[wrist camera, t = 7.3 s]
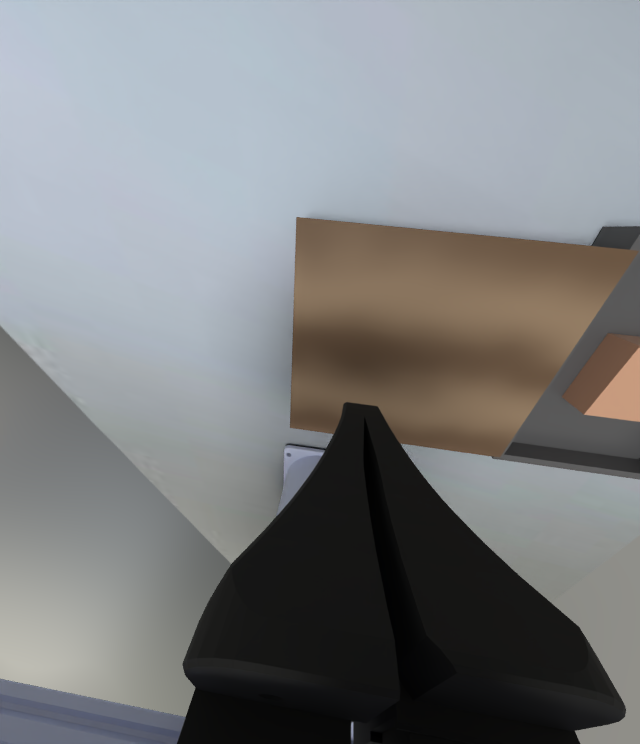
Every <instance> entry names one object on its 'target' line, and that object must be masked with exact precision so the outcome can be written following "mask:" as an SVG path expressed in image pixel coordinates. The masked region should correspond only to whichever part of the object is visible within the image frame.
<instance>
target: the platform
mask: <svg viewBox="0 0 640 744" xmlns="http://www.w3.org/2000/svg"><path fill="white" fill-rule="evenodd" d="M638 252H639V251H637V250H627V249H616V248H606V247H596V246H586V245H576V244H565V243H555V242H545V241H535V240H525V239H514V238H504V237H494V236H484V235H474V234H463V233H453V232H443V231H433V230H423V229H412V228H402V227H392V226H382V225H372V224H361V223H351V222H341V221H331V220H321V219H310V218H300V217H297V220H296V252H295V284H294V317H293V349H292V381H291V413H290V428H296V429H303V430H310V431H317V432H324V433H331V434H334V433H335V430H336V428H337V426H338V424H339V421H340V418H341V415H342V409H343V404H344V403H346V402H350V403H358V404H365V405H373V406H378V408H379V409H380V411H381V413H382V414H383V416H384V418H385V420H386V422H387V423H388V425H389V427H390V428H391V430H392V432H393V433H394V435H395V437H396V438H397V440H398V441H399V443H402V444H409V445H416V446H423V447H430V448H437V449H444V450H451V451H458V452H465V453H472V454H479V455H486V456H493V457H500V456H501V455H502V454H503V452H504V451H505V449H506V448H507V446H508V445H509V443H510V442H511V440H512V439H513V437H514V436H515V434H516V433H517V431H518V430H519V428H520V427H521V425H522V424H523V422H524V421H525V419H526V418H527V416H528V415H529V414H530V412H531V411H532V409H533V408H534V406H535V405H536V403H537V402H538V400H539V399H540V397H541V396H542V394H543V393H544V391H545V390H546V388H547V387H548V385H549V384H550V382H551V381H552V379H553V378H554V376H555V375H556V374H557V372H558V371H559V369H560V368H561V366H562V365H563V363H564V362H565V360H566V359H567V357H568V356H569V354H570V353H571V351H572V350H573V348H574V347H575V345H576V344H577V342H578V341H579V339H580V338H581V337H582V335H583V334H584V332H585V331H586V329H587V328H588V326H589V325H590V323H591V322H592V320H593V319H594V317H595V316H596V314H597V313H598V311H599V310H600V308H601V307H602V305H603V304H604V302H605V301H606V299H607V298H608V297H609V295H610V294H611V292H612V291H613V289H614V288H615V286H616V285H617V283H618V282H619V280H620V279H621V277H622V276H623V274H624V273H625V271H626V270H627V268H628V267H629V265H630V264H631V262H632V261H633V259H634V258H635V257H636V255H637V254H638Z"/></svg>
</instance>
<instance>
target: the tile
mask: <svg viewBox="0 0 640 744" xmlns="http://www.w3.org/2000/svg"><path fill="white" fill-rule="evenodd" d="M562 398H564V399H565V400H566V401H567V402H569V403H570V404H571V405H572V406H574V407H575V408H576V409H577V410H579V411H580V412H581V413H583V414H584V415H591V416H598V417H606V418H614V419H622V420H629V421H637V422H640V337H638V336H630V335H621V334H612V333H608V334H607V335H606V337H605V338H604V339H603V341H602V342H601V344H600V345H599V346H598V348H597V349H596V350H595V352H594V353H593V355H592V356H591V357H590V359H589V360H588V361H587V363H586V364H585V366H584V367H583V368H582V370H581V371H580V372H579V374H578V375H577V377H576V378H575V379H574V381H573V382H572V383H571V385H570V386H569V388H568V389H567V390H566V392H565V393H564V394H563V396H562Z"/></svg>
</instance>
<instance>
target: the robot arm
mask: <svg viewBox="0 0 640 744" xmlns="http://www.w3.org/2000/svg"><path fill="white" fill-rule="evenodd" d="M289 453H290V454H289ZM183 669H184V673H185V675H186V677H187V678H188V679H189V680H190V681H191V682H192V684H193V685H194V686H195V687H196V688H195V691H194V694H193V697H192V701H191V703H190V706H189V709H188V712H187V715H186V717H183V716H178V715H173V714H169V713H164V712H159V711H154V710H149V709H144V708H140V707H135V706H130V705H125V704H120V703H115V702H110V701H106V700H101V699H96V698H91V697H86V696H81V695H76V694H72V693H67V692H62V691H57V690H52V689H47V688H42V687H38V686H33V685H28V684H23V683H18V682H13V681H9V680H4V679H0V744H580V742H579V740H578V738H577V735H576V733H575V730H581V729H586V728H591V727H597V726H603V725H608V724H612V723H615V722H619V721H620V720H622V719H623V718H624V717H625V713H626V709H625V705H624V703H623V701H622V699H621V697H620V696H619V694H618V692H617V691H616V689H615V687H614V685H613V683H612V682H611V680H610V678H609V677H608V675H607V673H606V671H605V670H604V668H603V666H602V664H601V663H600V661H599V659H598V657H597V656H596V654H595V652H594V651H593V649H592V647H591V646H590V644H589V642H588V641H587V639H586V637H585V636H584V634H583V633H582V631H581V629H580V628H579V627H578V626H577V625H576V624H575V623H574V622H573V621H571V620H570V619H569V618H568V617H567V616H565V615H564V614H563V613H562V612H561V611H560V610H559V609H557V608H556V607H555V606H554V605H553V604H552V603H550V602H549V601H548V600H547V599H546V598H545V597H543V596H542V595H541V594H540V593H539V592H538V591H536V590H535V589H534V588H533V587H532V586H531V585H529V584H528V583H527V582H526V581H525V580H524V579H522V578H521V577H520V576H519V575H518V574H517V573H516V572H515V571H514V570H512V569H511V568H510V567H509V566H508V565H507V564H506V563H505V562H504V561H503V560H502V559H501V558H500V557H499V556H497V555H496V554H495V553H494V552H493V551H492V550H491V549H490V548H489V547H488V546H487V545H486V544H485V543H484V542H483V541H482V540H481V539H480V538H479V537H478V536H477V535H476V534H475V533H474V532H473V531H472V530H471V529H470V528H469V527H468V526H467V525H466V524H465V523H464V522H463V521H462V520H461V519H460V518H459V517H458V516H457V515H456V514H455V513H454V512H453V511H452V510H451V508H450V507H449V506H448V505H447V504H446V503H445V502H444V501H443V500H442V499H441V497H440V496H439V495H438V494H437V493H436V491H435V490H434V489H433V488H432V487H431V485H430V484H429V483H428V482H427V480H426V479H425V478H424V477H423V475H422V474H421V473H420V471H419V470H418V469H417V467H416V466H415V465H414V463H413V462H412V461H411V459H410V458H409V456H408V455H407V453H406V452H405V451H404V449H403V447H402V446H401V444H400V443H399V441H398V440H397V438H396V437H395V435H394V433H393V432H392V430H391V428H390V427H389V425H388V423H387V422H386V420H385V418H384V416H383V414H382V413H381V411H380V409H379V408H378V406H373V405H365V404H358V403H350V402H346V403H344V404H343V409H342V415H341V418H340V421H339V424H338V426H337V428H336V430H335V433H334V435H333V437H332V439H331V441H330V443H329V444H328V446H327V448H326V450H320V449H313V448H306V447H299V446H292V445H287V446H285V449H284V488H283V492H282V496H281V499H280V503H279V507H278V511H277V515H276V518H275V519H274V520H273V521H272V522H271V523H270V525H269V526H268V527H267V528H266V529H265V530H264V531H263V532H262V533H261V534H260V535H259V536H258V537H257V538H256V539H255V540H254V541H253V542H252V543H251V544H250V545H249V546H248V547H247V548H246V550H245V551H244V552H243V553H242V554H241V555H240V556H239V557H238V558H237V559H236V560H235V561H234V562H233V563H232V564H231V565H230V567H229V569H228V570H227V572H226V573H225V575H224V577H223V578H222V580H221V581H220V583H219V585H218V586H217V588H216V590H215V592H214V593H213V595H212V597H211V598H210V600H209V602H208V604H207V606H206V608H205V610H204V612H203V614H202V617H201V619H200V620H199V623H198V625H197V628H196V630H195V633H194V636H193V639H192V641H191V643H190V646H189V648H188V651H187V654H186V656H185V659H184V661H183Z"/></svg>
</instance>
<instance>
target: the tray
mask: <svg viewBox="0 0 640 744" xmlns="http://www.w3.org/2000/svg"><path fill="white" fill-rule="evenodd" d="M592 246H596V247H606V248H616V249H627V250H637V251H639V252H638V254H637V255H636V257H635V258H634V259H633V261H632V262H631V264H630V265H629V267H628V268H627V270H626V271H625V273H624V274H623V276H622V277H621V279H620V280H619V282H618V283H617V285H616V286H615V288H614V289H613V291H612V292H611V294H610V295H609V297H608V298H607V299H606V301H605V302H604V304H603V305H602V307H601V308H600V310H599V311H598V313H597V314H596V316H595V317H594V319H593V320H592V322H591V323H590V325H589V326H588V328H587V329H586V331H585V332H584V334H583V335H582V337H581V338H580V339H579V341H578V342H577V344H576V345H575V347H574V348H573V350H572V351H571V353H570V354H569V356H568V357H567V359H566V360H565V362H564V363H563V365H562V366H561V368H560V369H559V371H558V372H557V374H556V375H555V376H554V378H553V379H552V381H551V382H550V384H549V385H548V387H547V388H546V390H545V391H544V393H543V394H542V396H541V397H540V399H539V400H538V402H537V403H536V405H535V406H534V408H533V409H532V411H531V412H530V414H529V415H528V416H527V418H526V419H525V421H524V422H523V424H522V425H521V427H520V428H519V430H518V431H517V433H516V434H515V436H514V437H513V439H512V440H511V442H510V443H509V445H508V446H507V448H506V449H505V451H504V452H503V454H502V455H501V456H500V457H493V456H492V458H493V459H500V460H507V461H514V462H521V463H528V464H535V465H542V466H549V467H556V468H563V469H570V470H577V471H584V472H591V473H598V474H605V475H612V476H619V477H626V478H633V479H640V422H637V421H629V420H622V419H614V418H606V417H598V416H591V415H584V414H583V413H581V412H580V411H579V410H577V409H576V408H575V407H574V406H572V405H571V404H570V403H569V402H567V401H566V400H565V399H564V398H562V396H563V394H564V393H565V392H566V390H567V389H568V388H569V386H570V385H571V383H572V382H573V381H574V379H575V378H576V377H577V375H578V374H579V372H580V371H581V370H582V368H583V367H584V366H585V364H586V363H587V361H588V360H589V359H590V357H591V356H592V355H593V353H594V352H595V350H596V349H597V348H598V346H599V345H600V344H601V342H602V341H603V339H604V338H605V337H606V335H607V334H608V333H612V334H621V335H630V336H638V337H640V226H634V227H603V228H602V230H601V231H600V233H599V235H598V237H597V238H596V240H595V242H594V243H593V245H592Z"/></svg>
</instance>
